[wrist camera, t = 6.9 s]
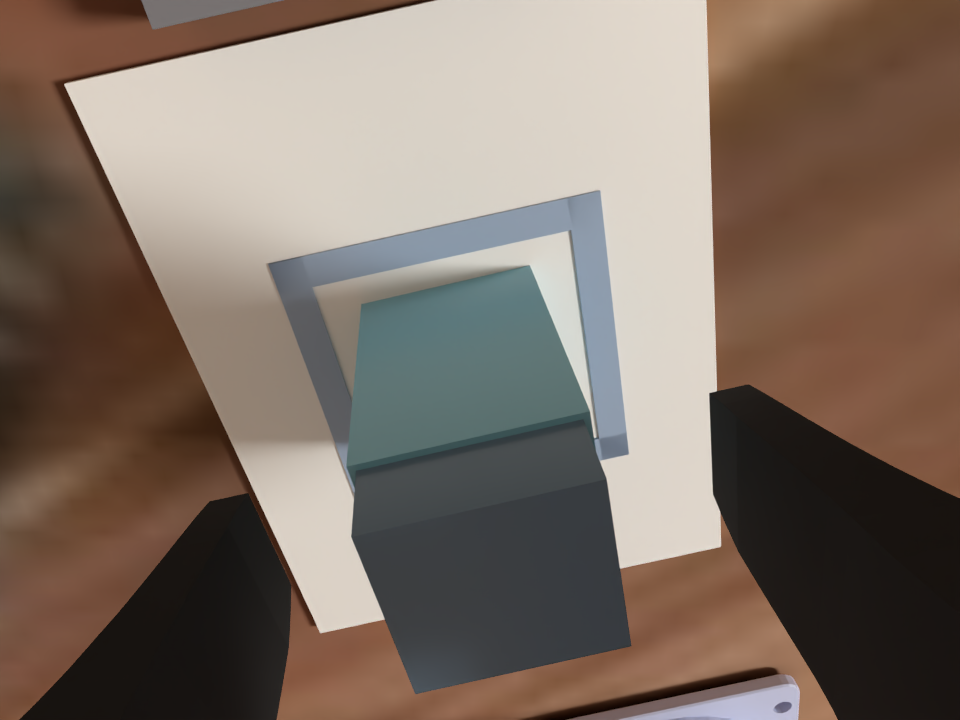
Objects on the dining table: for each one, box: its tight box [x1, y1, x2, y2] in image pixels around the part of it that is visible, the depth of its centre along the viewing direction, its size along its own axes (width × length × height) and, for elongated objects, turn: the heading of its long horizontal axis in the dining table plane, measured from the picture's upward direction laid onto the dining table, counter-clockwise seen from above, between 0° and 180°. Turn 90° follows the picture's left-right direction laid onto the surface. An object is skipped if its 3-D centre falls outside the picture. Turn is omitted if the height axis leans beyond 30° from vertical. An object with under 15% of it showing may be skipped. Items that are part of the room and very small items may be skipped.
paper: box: [64, 0, 721, 633], centre depth 14 cm, size 13×10×1 cm
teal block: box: [346, 265, 631, 694], centre depth 12 cm, size 3×3×6 cm
